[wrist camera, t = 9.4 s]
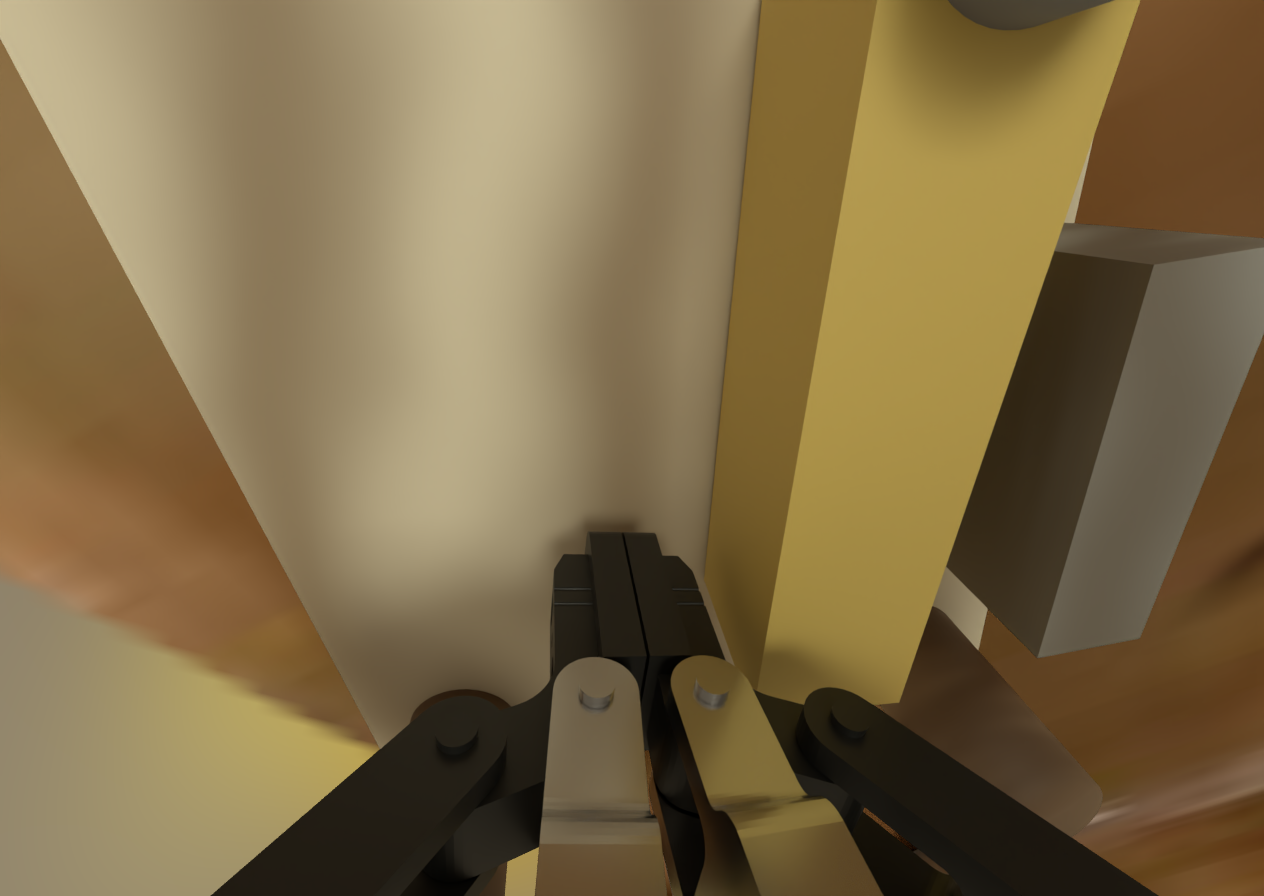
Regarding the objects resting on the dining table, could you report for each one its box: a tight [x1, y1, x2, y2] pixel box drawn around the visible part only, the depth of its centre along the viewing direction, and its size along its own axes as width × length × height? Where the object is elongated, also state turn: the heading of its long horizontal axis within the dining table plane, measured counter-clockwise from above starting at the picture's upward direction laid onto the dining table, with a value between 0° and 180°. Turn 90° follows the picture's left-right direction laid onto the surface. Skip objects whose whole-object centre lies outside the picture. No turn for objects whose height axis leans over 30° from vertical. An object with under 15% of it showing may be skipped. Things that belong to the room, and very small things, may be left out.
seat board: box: [0, 0, 1264, 896], centre depth 10 cm, size 18×22×6 cm
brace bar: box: [704, 0, 1140, 705], centre depth 8 cm, size 13×3×6 cm, turn 179°
